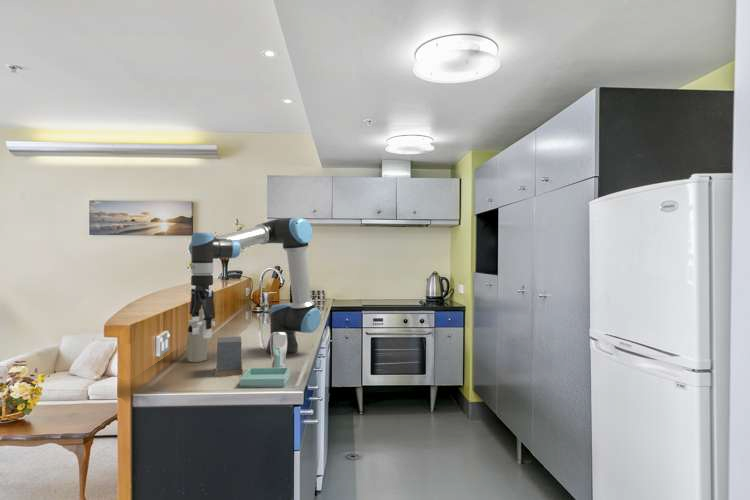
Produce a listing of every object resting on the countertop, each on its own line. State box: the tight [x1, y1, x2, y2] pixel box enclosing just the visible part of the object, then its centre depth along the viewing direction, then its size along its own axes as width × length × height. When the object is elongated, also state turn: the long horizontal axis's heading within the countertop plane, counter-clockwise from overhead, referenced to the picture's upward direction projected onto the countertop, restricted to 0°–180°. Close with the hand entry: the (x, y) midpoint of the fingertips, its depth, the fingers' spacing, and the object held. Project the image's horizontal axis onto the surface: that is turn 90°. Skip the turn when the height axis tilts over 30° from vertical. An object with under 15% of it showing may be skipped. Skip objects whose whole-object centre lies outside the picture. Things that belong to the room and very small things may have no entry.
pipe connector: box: [187, 309, 216, 338], centre depth 161 cm, size 10×10×10 cm
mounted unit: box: [214, 336, 244, 378], centre depth 177 cm, size 13×10×13 cm
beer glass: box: [269, 332, 287, 368], centre depth 180 cm, size 7×7×15 cm
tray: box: [239, 367, 291, 389], centre depth 164 cm, size 16×16×3 cm
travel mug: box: [187, 319, 208, 363], centre depth 195 cm, size 8×8×18 cm
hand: (201, 335), depth 161 cm, fingers closed on pipe connector, 9 cm apart
